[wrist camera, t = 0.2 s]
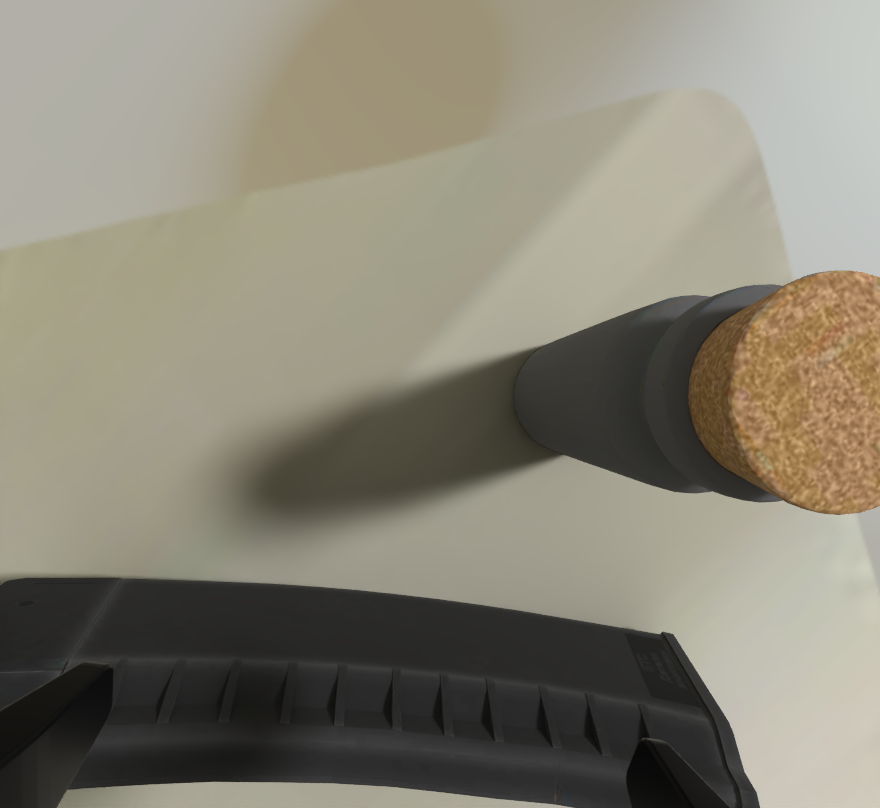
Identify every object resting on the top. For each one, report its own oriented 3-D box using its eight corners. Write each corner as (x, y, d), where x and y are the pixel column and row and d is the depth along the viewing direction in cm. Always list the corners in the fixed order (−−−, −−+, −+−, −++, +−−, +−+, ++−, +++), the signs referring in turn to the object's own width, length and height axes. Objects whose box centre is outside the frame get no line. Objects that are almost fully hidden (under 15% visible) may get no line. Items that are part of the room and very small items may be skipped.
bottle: (533, 467, 23) (756, 590, 8) (496, 361, 23) (660, 293, 8) (635, 430, 24) (1022, 484, 9) (601, 325, 24) (937, 198, 9)
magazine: (873, 756, 15) (-859, 1214, 5) (860, 851, 15) (-903, 1535, 5) (564, 563, 31) (19, 562, 20) (557, 610, 31) (9, 633, 20)
